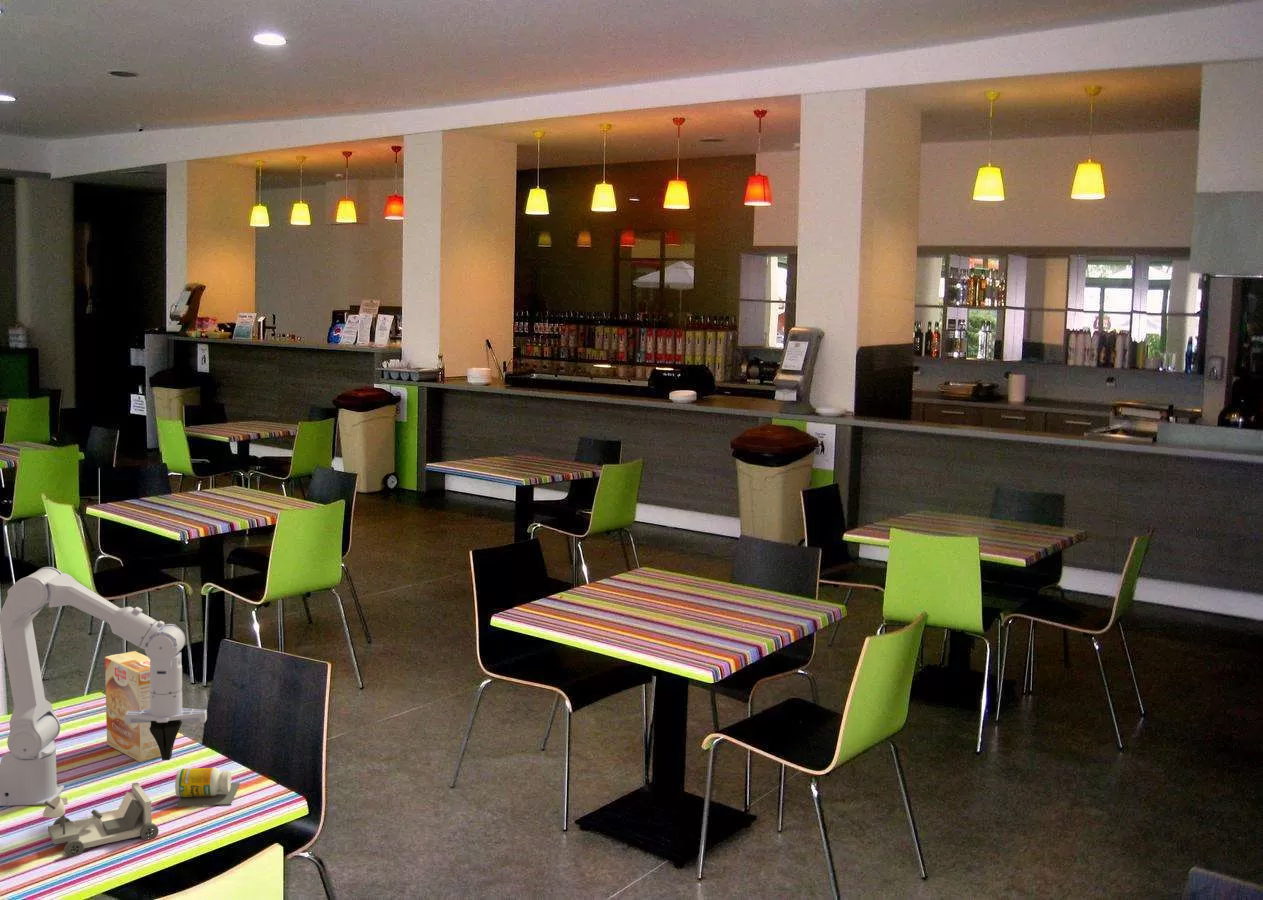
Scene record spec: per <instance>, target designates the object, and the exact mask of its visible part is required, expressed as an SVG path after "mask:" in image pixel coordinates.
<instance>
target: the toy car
mask: <svg viewBox="0 0 1263 900" xmlns="http://www.w3.org/2000/svg"><path fill="white" fill-rule="evenodd" d="M44 805H46V806H45V808H44V809H43V812H42V817H43V818H50V819H55V820H54V822H53V824H52V825H47V834H49V835H48V836H49V837H50V839H51V841H52V843H53V845H58V844H62V843H66V842H67V843H66V844H65V846H64V849H63V851H64V854H65V856H66V857H68V858H71V857H74V856H79V855H82V853H83V852H84V850H85V849H87V848H91V847H96V846H102V845H106V844H110V843H114V842H119V841H123V840H128V839H132V838H137V837H140V838H141V839H144V841H146V840H145V839H147V840H151V839H155V838H154V837H156V838H157V837H158V835H159V832H160V831H159V828H158V826H157V825H156V824H155V823H154V822H153V823H152V800H151V799H150V798H149V796H148V795H147V793H146V792H145V790H144V789H143V788H142V786H141V785H140V784H139V783H138V782H133V783H131V792H129V791H126V793H125V795H124V797H123V799H122V801H121V803H120V805H119V806H118V808H117V809H113V810H110V811H109V810H108V811H104V812H99V811H98V810H96V809H92V811H90V814H92V817H90V818H86V819H85V818H84V819H81V820H75V821H71V820H70V818H68V817H66V806H68V805H69V804H68V797H66V796H65V797H61V796H60V795H58V797H55V798H54V799H53V800H52V801H51V802H50V803H48V802H45V804H44ZM56 818H57V819H56ZM148 838H149V839H148ZM150 838H151V839H150Z"/></svg>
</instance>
